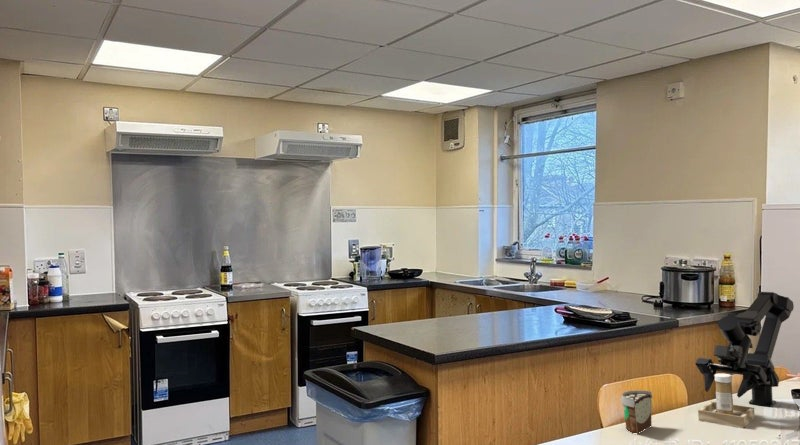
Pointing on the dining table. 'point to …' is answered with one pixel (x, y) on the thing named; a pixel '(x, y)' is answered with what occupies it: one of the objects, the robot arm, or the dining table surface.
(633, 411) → the food container
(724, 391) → the sprinkles bottle
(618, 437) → the dining table surface
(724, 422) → the box
